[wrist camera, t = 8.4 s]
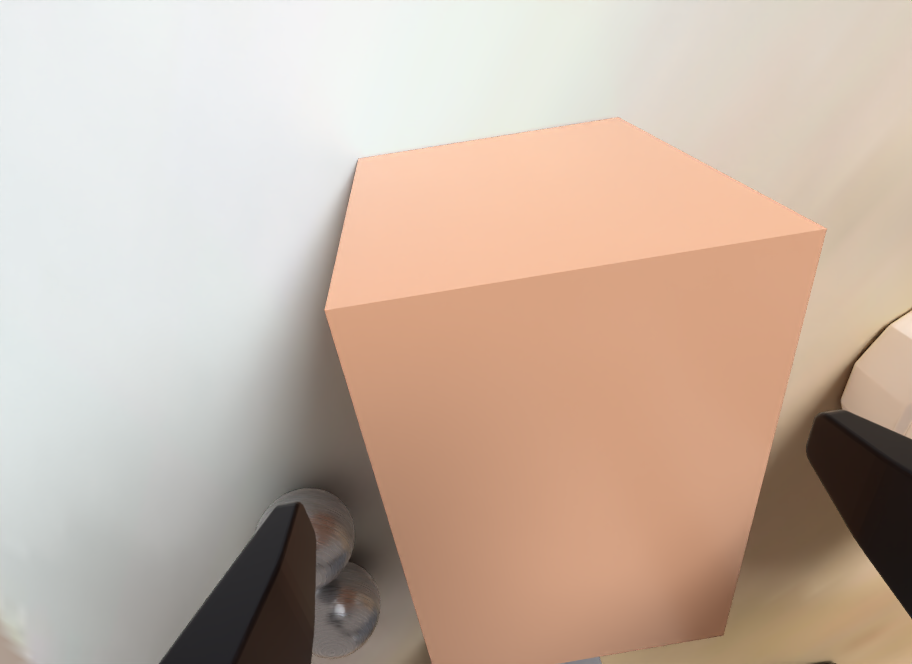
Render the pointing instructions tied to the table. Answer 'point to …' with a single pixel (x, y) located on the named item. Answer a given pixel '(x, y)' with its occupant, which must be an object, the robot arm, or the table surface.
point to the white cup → (884, 380)
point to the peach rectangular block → (567, 382)
